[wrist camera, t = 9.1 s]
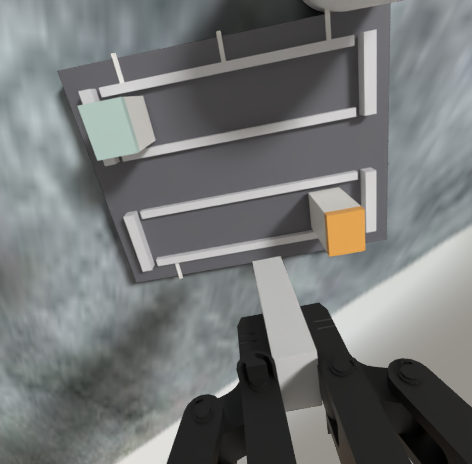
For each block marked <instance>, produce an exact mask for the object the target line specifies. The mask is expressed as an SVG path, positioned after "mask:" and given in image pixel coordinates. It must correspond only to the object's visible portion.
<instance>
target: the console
mask: <svg viewBox="0 0 472 464" xmlns="http://www.w3.org/2000/svg"><path fill="white" fill-rule="evenodd" d="M390 5H391V3H387V4H382V5H377V6H372V7H366V8H361V9H356V10H351V11H344V12H333V13H330V10H327V9H325V14H323V15H319V16H314V17H309V18H304V19H300V20H295V21H290V22H286V23H281V24H276V25H271V26H267V27H262V28H257V29H253V30H248V31H243V32H238V33H234V34H229V35H224V36H221V30H220V31H216V34H217V37H215V38H210V39H205V40H201V41H196V42H191V43H186V44H182V45H177V46H172V47H168V48H163V49H158V50H153V51H149V52H144V53H139V54H135V55H130V56H125V57H120V58H117V55H116V53H112V54H111V56H112V59H111V60H106V61H102V62H97V63H92V64H87V65H83V66H78V67H73V68H69V69H64V70H59V71H57V72H58V74H59V77H60V80H61V82H62V85H63V88H64V90H65V93H66V96H67V98H68V101H69V104H70V106H71V109H72V112H73V114H74V117H75V120H76V122H77V125H78V128H79V130H80V133H81V136H82V138H83V141H84V144H85V146H86V149H87V152H88V154H89V157H90V160H91V162H92V165H93V168H94V170H95V173H96V176H97V178H98V181H99V184H100V186H101V189H102V192H103V194H104V197H105V200H106V202H107V205H108V208H109V210H110V213H111V216H112V218H113V221H114V224H115V226H116V229H117V232H118V234H119V237H120V240H121V242H122V245H123V248H124V250H125V253H126V256H127V258H128V261H129V264H130V266H131V269H132V272H133V274H134V277H135V280H136V282H143V281H149V280H155V279H160V278H166V277H172V276H178V275H179V279H181V278H183V276H182V275H184V274H189V273H195V272H201V271H207V270H212V269H218V268H224V267H230V266H236V265H241V264H247V263H253V262H252V261H257V260H263V259H268V258H273V257H279V256H281V258H282V257H288V256H293V255H299V254H305V253H311V252H316V251H322V250H325V249H324V247H323V245H322V244H321V242H320V240H319V239H318V237H317V236H316V234H315V232H314V231H313V229H312V228H311V218H310V207H309V196H308V193H309V192H315V191H320V190H326V189H331V188H337V187H339V188H341V189H342V190H343V191H344V192H345V193H346V194H348V195H349V196H350V197H351V198H352V199H353V200H355V201H356V202H357V203H358V204H359V205H360V206H362V207H363V208H364V209H365V243H368V242H374V241H380V240H386V239H387V184H388V125H389V65H390ZM129 96H143V97H144V101H145V104H146V108H147V111H148V115H149V118H150V122H151V126H152V129H153V133H154V136H155V140H156V141H154V142H153V143H151V144H150V145H148V146H147V147H145V148H144V149H143V150H141V151H140V152H138V153H135V154H130V155H124V156H119V157H114V158H109V159H104V160H99V161H97V158H96V155H95V153H94V150H93V147H92V145H91V142H90V139H89V136H88V134H87V131H86V128H85V125H84V123H83V120H82V117H81V114H80V112H79V109H78V106H79V105H84V104H89V103H93V102H98V101H103V100H108V99H113V98H118V97H129Z"/></svg>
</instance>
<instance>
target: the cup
mask: <svg viewBox="0 0 472 464" xmlns="http://www.w3.org/2000/svg"><path fill="white" fill-rule="evenodd" d="M303 1H304V2H305V3H306V4H307V5H308V6H310V7H311V8H313V9H315V10H317V11H320V12H324V13H325V9H327V10H330V13H333V12H344V11H351V10H356V9H361V8H366V7H372V6H377V5H382V4H387V3H392V2H397V1H402V0H303Z"/></svg>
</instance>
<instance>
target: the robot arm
mask: <svg viewBox="0 0 472 464" xmlns="http://www.w3.org/2000/svg"><path fill="white" fill-rule="evenodd" d="M252 262H253V267H254V273H255V278H256V283H257V289H258V294H259V299H260V305H261V310H262V314H259V315H253V316H248V317H243V318H241V319H240V322H239V324H238V326H237V328H238V340H239V351H240V360H239V362H238V363H237V369H236V370H237V373H238V377H239V381H240V382H239V383H238V385H237V386H236V387H235V388H234V389H233V390H232V391H231V392H229V393H228V394H226V395H224V396H222V397H220V398H217V397H216V396H213V395H209V394H206V395H200V396H198V397H196V398H195V399H193V400H192V401H191V402H190V403H189V404H188V405H187V407H186V409H185V411H184V414H183V417H182V420H181V423H180V426H179V429H178V432H177V435H176V438H175V440H174V444H173V446H172V449H171V452H170V455H169V458H168V461H167V464H237V460H239V459H241V458H242V457H244V456H246V455H247V464H296V459H295V454H294V450H293V445H292V441H291V436H290V432H289V427H288V423H287V417H286V413H285V412H286V411H293V410H298V409H304V408H310V407H315V406H321V405H322V401H323V404H324V407H325V410H326V418H327V429H328V434H332V438H333V441H334V443H335V447H336V450H337V453H338V456H339V459H340V462H341V464H412V463H411V461H412V462H413V464H472V407H471V406H470V405H468V404H467V403H466V402H465V401H464V400H463V399H462V398H461V397H459V396H458V395H457V394H456V393H455V392H454V391H453V390H452V389H451V388H449V387H448V386H447V385H446V384H445V383H444V382H443V381H442V380H441V379H439V378H438V377H437V376H436V375H435V374H434V373H433V372H432V371H430V370H429V369H428V368H427V367H426V366H424V365H423V364H421V363H420V362H417V361H415V360H412V359H403V358H402V359H397V360H394V361H393V362H391V363H390V364H389V366H388V368H381V367H372V366H367V365H364V364H362V363H360V362H358V361H357V360H356V359H355V358H353V357H352V356H351V355H350V354H349V352H348V350H347V348H346V346H345V344H344V342H343V340H342V338H341V336H340V334H339V332H338V330H337V328H336V327H335V324H334V322H333V320H332V318H331V316H330V314H329V312H328V310H327V309H326V308H325V307H324V306H322V305H321V304H320V303H314V304H309V305H304V306H299V303H298V301H297V298H296V295H295V293H294V290H293V288H292V285H291V282H290V280H289V277H288V274H287V272H286V269H285V267H284V264H283V261H282V259H281V256H279V257H273V258H268V259H263V260H257V261H252ZM408 457H409V458H408ZM409 459H410V460H411V461H410V460H409Z"/></svg>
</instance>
